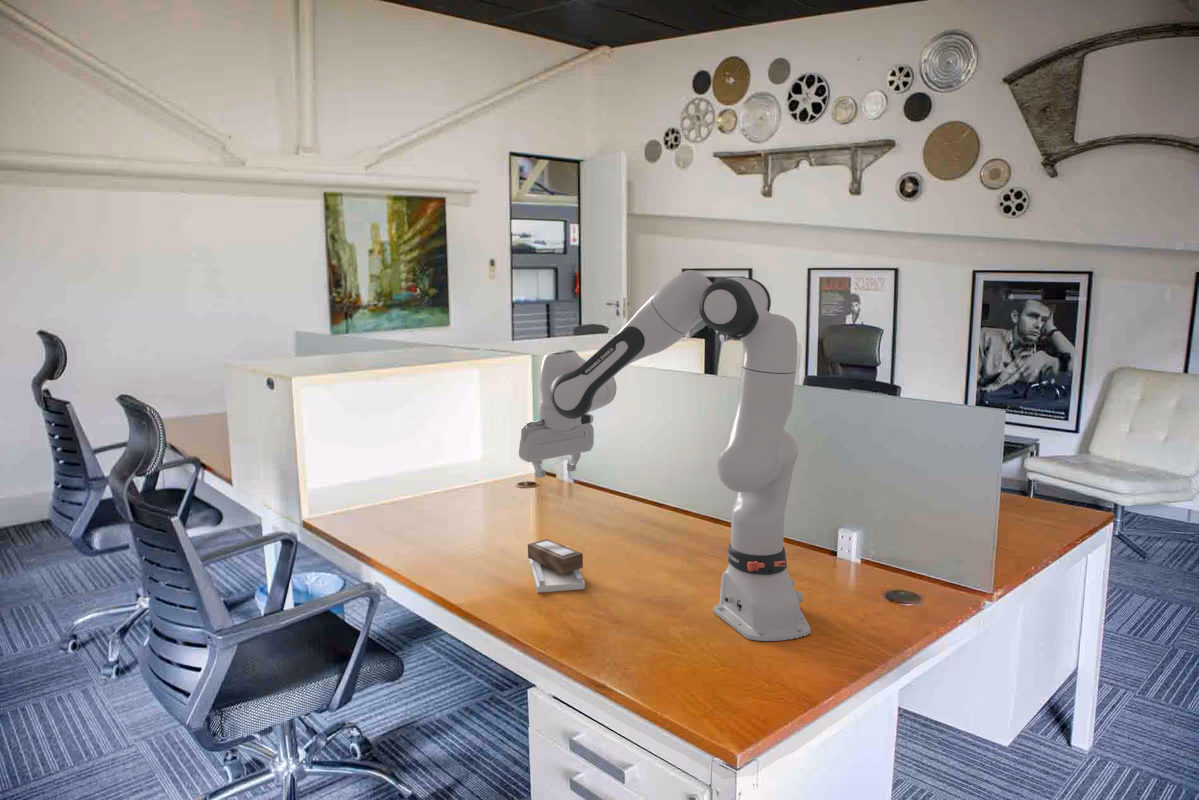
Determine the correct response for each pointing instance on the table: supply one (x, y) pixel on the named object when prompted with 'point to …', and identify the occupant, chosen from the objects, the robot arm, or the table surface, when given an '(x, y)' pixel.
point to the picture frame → (555, 556)
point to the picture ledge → (555, 578)
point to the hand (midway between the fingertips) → (556, 473)
